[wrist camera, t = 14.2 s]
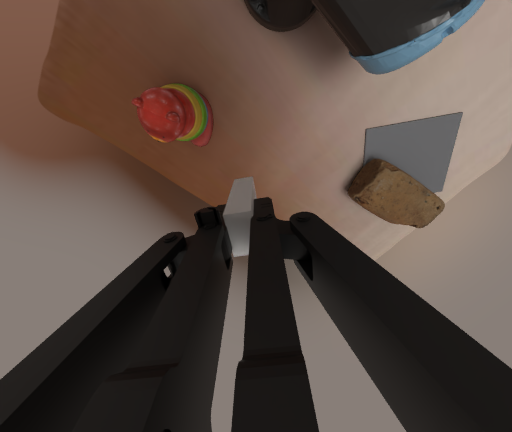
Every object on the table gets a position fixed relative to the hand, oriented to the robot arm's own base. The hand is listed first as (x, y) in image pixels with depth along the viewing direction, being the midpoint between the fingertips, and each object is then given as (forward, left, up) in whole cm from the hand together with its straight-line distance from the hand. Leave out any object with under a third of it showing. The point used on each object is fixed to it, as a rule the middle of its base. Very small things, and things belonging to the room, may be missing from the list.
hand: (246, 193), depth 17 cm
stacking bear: (-8, -12, -33) cm, 36 cm away
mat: (+10, +36, -32) cm, 49 cm away
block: (+10, +23, -28) cm, 38 cm away
